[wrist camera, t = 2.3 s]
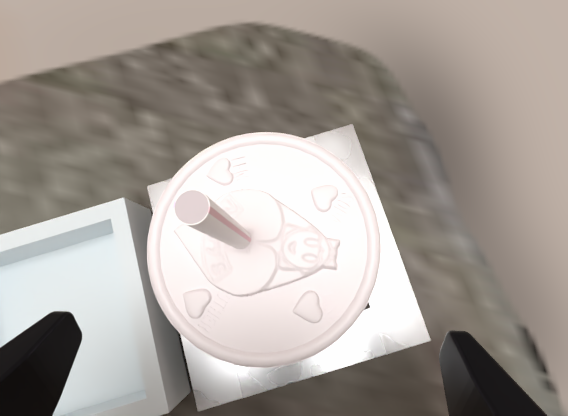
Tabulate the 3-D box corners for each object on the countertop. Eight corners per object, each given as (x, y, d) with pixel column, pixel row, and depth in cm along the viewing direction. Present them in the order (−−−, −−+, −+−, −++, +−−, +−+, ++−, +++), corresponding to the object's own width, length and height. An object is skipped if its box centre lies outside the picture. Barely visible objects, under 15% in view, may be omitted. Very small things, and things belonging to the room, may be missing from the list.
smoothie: (234, 194, 20) (79, 4, 6) (351, 210, 19) (463, 40, 6) (212, 314, 19) (-38, 405, 5) (337, 335, 18) (433, 498, 5)
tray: (191, 391, 18) (169, 412, 15) (5, 447, 18) (-53, 480, 15) (150, 209, 20) (123, 197, 17) (-18, 260, 20) (-73, 256, 17)
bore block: (413, 332, 18) (431, 340, 16) (212, 394, 18) (197, 411, 16) (346, 143, 20) (352, 124, 18) (166, 197, 20) (146, 186, 18)
